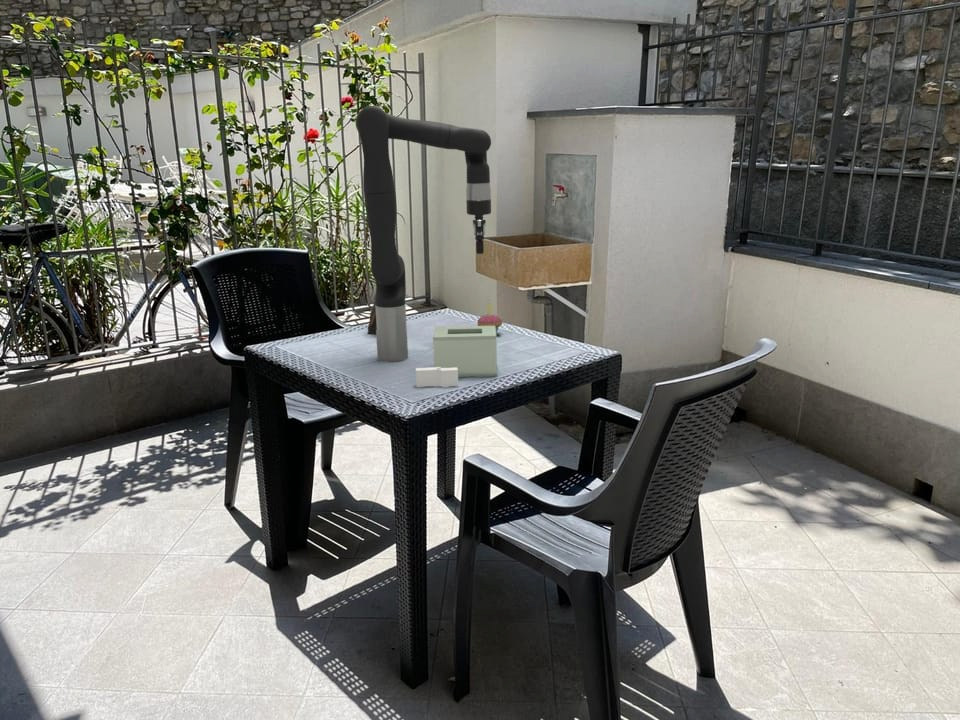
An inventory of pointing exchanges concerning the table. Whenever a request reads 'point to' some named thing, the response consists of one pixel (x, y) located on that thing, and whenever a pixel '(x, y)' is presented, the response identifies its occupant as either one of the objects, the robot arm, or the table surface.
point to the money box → (466, 349)
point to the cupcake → (490, 320)
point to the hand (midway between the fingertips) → (479, 251)
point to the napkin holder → (437, 376)
